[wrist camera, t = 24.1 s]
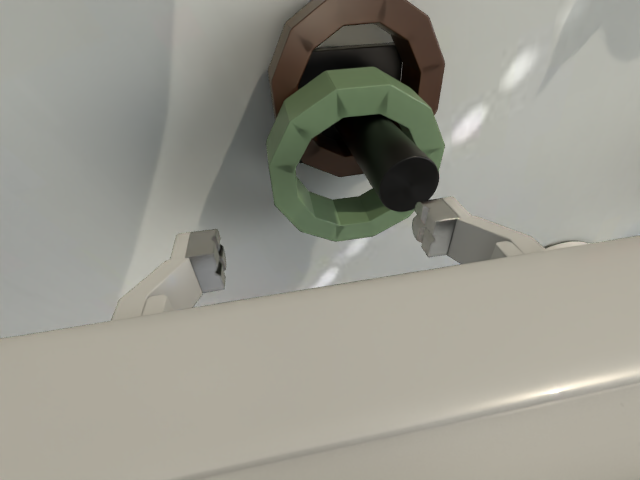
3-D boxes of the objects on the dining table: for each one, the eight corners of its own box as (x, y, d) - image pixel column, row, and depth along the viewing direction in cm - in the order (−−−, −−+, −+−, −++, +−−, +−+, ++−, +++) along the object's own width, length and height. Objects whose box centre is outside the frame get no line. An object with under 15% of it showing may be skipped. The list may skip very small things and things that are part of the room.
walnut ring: (412, 148, 28) (429, 164, 26) (281, 166, 27) (285, 185, 25) (433, -19, 21) (458, -19, 19) (257, -5, 20) (259, -2, 17)
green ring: (409, 205, 28) (424, 229, 26) (278, 221, 27) (281, 249, 25) (438, 60, 21) (462, 77, 18) (256, 76, 19) (257, 96, 17)
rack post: (389, 147, 29) (467, 239, 19) (297, 158, 28) (329, 260, 18) (399, 41, 24) (513, 89, 14) (288, 50, 23) (324, 108, 13)
